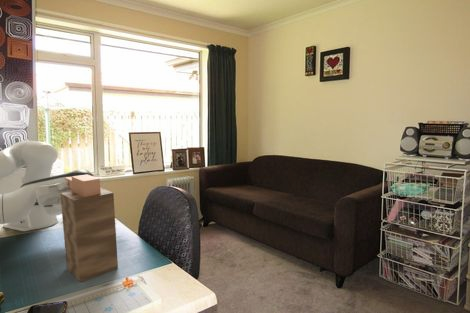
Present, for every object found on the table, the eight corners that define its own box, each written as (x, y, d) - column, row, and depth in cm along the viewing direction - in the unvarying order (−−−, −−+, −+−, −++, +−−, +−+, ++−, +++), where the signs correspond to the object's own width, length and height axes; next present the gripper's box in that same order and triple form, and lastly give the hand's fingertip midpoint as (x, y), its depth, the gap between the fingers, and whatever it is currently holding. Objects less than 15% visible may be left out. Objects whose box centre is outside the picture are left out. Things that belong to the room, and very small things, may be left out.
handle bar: (62, 186, 109) (61, 172, 108) (77, 184, 112) (76, 170, 112) (84, 197, 95) (83, 181, 94) (100, 193, 99) (99, 178, 98)
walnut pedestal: (66, 268, 104) (60, 193, 100) (102, 256, 112) (97, 186, 108) (80, 282, 95) (74, 200, 92) (117, 268, 104) (113, 192, 100)
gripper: (93, 197, 123) (105, 185, 114) (34, 208, 109) (42, 195, 100) (89, 182, 125) (101, 169, 116) (30, 191, 110) (38, 177, 101)
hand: (73, 181), depth 107 cm, fingers closed on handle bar, 3 cm apart
